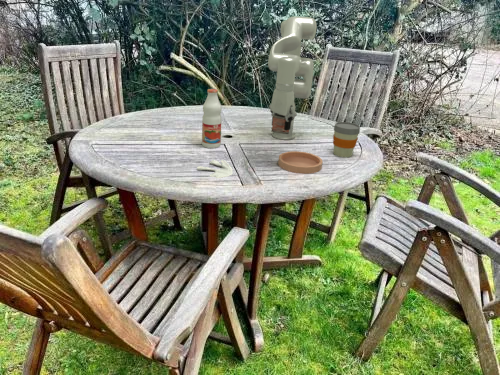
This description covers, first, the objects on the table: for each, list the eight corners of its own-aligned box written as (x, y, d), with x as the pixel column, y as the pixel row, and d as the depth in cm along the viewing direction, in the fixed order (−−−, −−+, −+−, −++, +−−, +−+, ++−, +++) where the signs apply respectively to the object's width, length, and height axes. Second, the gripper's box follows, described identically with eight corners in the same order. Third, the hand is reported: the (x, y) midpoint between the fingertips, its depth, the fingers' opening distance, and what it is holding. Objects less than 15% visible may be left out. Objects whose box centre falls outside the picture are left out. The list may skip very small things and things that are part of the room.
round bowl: (269, 162, 188) (269, 156, 187) (298, 154, 201) (299, 148, 200) (301, 177, 175) (302, 170, 174) (330, 167, 188) (331, 161, 186)
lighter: (289, 132, 182) (292, 110, 177) (287, 134, 179) (290, 112, 175) (272, 129, 184) (274, 108, 180) (270, 131, 181) (272, 109, 177)
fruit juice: (217, 141, 210) (218, 87, 198) (223, 147, 203) (225, 91, 191) (199, 143, 207) (200, 87, 195) (205, 149, 199) (206, 92, 187)
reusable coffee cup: (357, 153, 208) (362, 124, 202) (352, 160, 198) (357, 131, 192) (333, 148, 213) (337, 120, 206) (327, 155, 202) (331, 126, 196)
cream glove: (220, 183, 166) (220, 177, 165) (179, 169, 176) (179, 164, 175) (247, 168, 182) (247, 163, 181) (208, 156, 192) (209, 151, 191)
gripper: (264, 84, 177) (261, 123, 184) (293, 92, 165) (288, 134, 172) (277, 82, 181) (273, 121, 189) (305, 90, 169) (300, 131, 177)
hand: (280, 127), depth 181 cm, fingers closed on lighter, 7 cm apart
